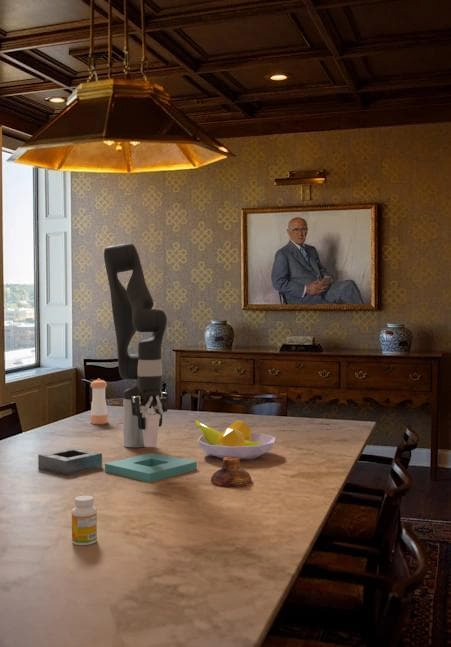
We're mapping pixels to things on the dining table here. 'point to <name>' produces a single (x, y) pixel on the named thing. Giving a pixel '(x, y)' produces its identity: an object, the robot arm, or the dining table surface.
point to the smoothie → (151, 429)
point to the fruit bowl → (234, 441)
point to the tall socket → (70, 461)
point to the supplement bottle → (84, 521)
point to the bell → (231, 474)
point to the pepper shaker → (98, 402)
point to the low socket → (143, 470)
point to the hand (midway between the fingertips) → (150, 427)
